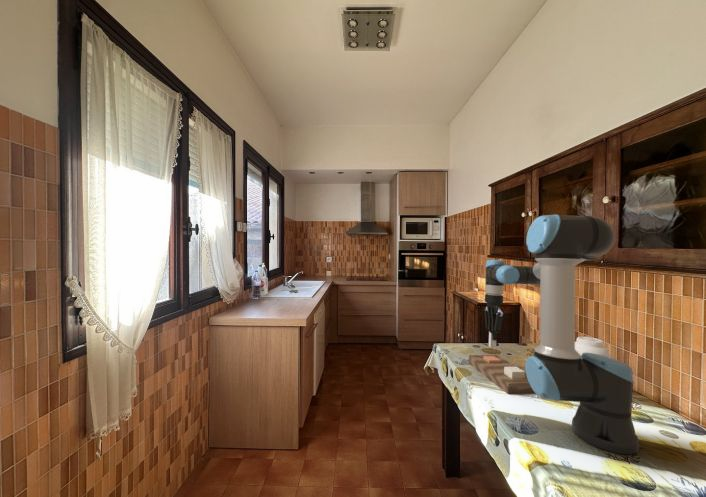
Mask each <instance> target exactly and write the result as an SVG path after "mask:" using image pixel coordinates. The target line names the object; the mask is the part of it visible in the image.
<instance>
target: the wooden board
mask: <svg viewBox="0 0 706 497" xmlns="http://www.w3.org/2000/svg"><path fill="white" fill-rule="evenodd" d="M483 356H494V357H496V358H498V359H499V360H500V363H488V362H486V361H485V360H484V359H483ZM468 365H470V366H471V367H473V368H474V369H475V370H476V371H478V372H479V373H480V374H481V375H483V376H484V377H485V378H486V379H488V380H489V381H491V383H493V384H494V385H496V387H498V388H500V389H501V390H502V391H503V392H505V393H506V394H507V395H527V394H528V395H529V394H532V395H533V394H535V395H537V394H536V393H535V392H534V391H533V389H532V388H531V386H530V384H529V381H528V379H527V375H526V371H524V372H525V377H524V379H511V378H510V377H508V376H507V375H506V374H504V367H517V366H515V365H514V364H513V363H511V362H509V361H508V360H506V359H504V358H502V357H501V356H500V355H497V354H496V355H495V354H486V355H485V354H480V355H479V354H474V355H472V354H471V355H468Z"/></svg>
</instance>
